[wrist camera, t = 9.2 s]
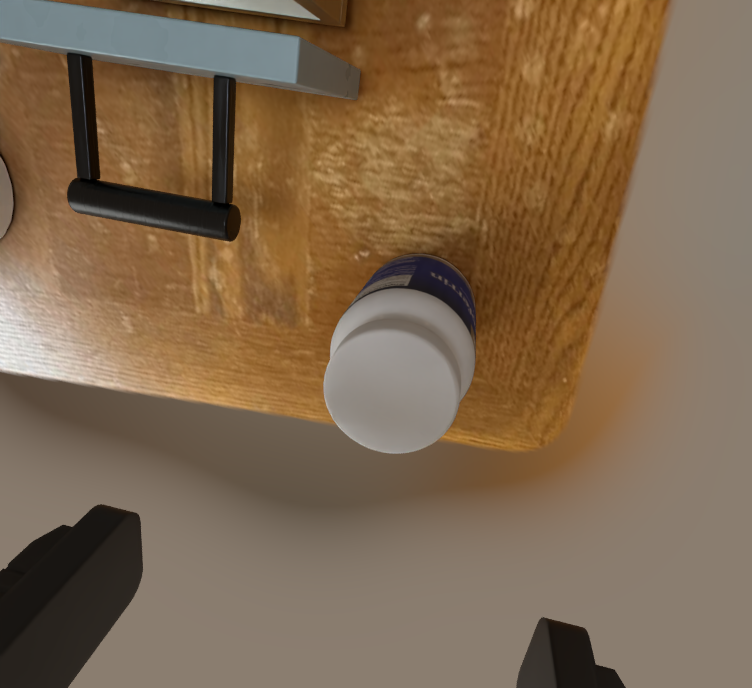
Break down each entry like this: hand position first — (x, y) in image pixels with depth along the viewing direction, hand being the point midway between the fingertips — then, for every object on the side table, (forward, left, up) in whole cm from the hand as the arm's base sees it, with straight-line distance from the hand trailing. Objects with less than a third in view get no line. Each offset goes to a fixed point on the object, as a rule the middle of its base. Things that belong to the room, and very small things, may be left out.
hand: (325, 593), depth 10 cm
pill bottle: (0, 0, -18) cm, 18 cm away
